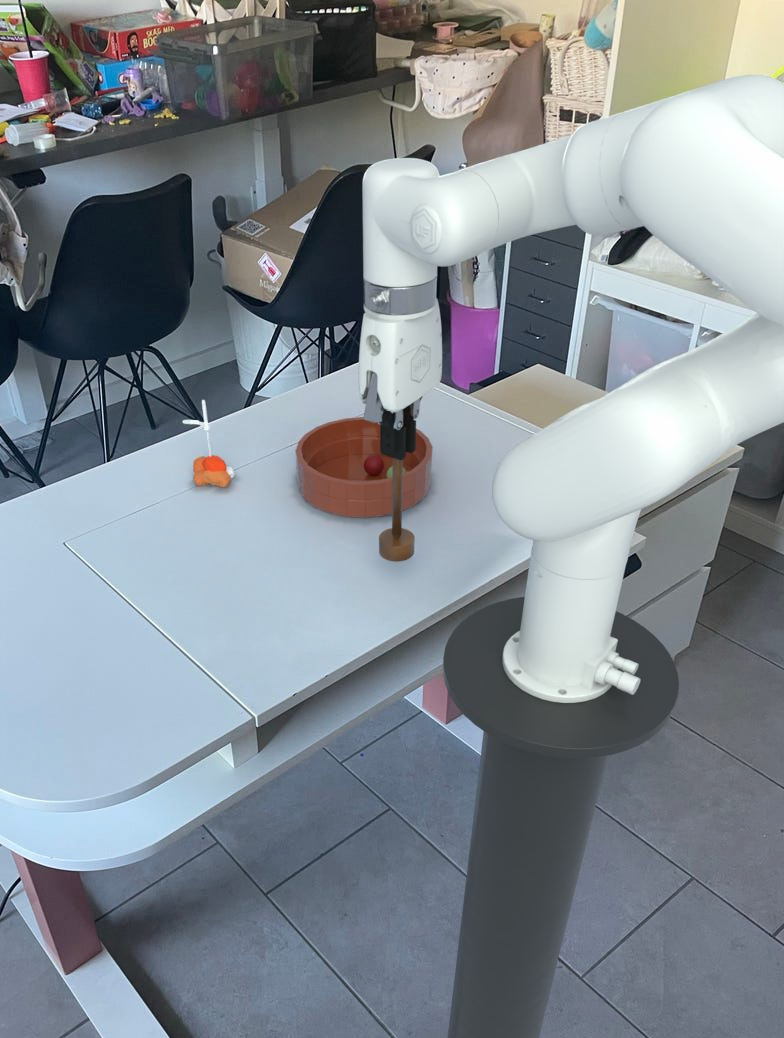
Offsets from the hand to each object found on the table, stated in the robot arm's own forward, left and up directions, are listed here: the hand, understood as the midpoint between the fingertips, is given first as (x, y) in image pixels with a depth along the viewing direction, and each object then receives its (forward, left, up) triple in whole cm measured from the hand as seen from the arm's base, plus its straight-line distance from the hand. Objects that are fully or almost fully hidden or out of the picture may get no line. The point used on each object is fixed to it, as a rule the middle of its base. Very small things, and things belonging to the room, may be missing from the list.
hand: (397, 452), depth 109 cm
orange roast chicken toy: (+37, -5, -19) cm, 42 cm away
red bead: (+17, -20, -17) cm, 31 cm away
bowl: (+17, -17, -19) cm, 31 cm away
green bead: (+13, -19, -17) cm, 28 cm away
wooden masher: (0, 0, -14) cm, 14 cm away
